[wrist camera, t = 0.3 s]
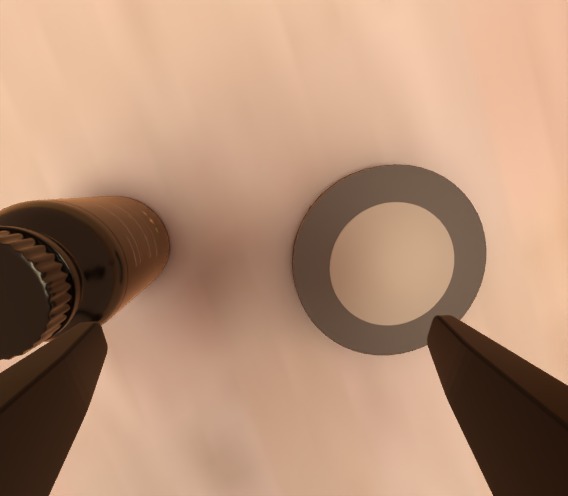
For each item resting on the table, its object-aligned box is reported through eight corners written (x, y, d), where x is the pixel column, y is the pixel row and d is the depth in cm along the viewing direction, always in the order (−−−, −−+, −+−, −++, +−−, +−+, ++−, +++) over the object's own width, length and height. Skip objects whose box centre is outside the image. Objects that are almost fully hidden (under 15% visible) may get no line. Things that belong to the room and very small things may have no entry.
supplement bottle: (117, 306, 24) (-29, 422, 12) (54, 230, 22) (-178, 277, 11) (192, 255, 23) (117, 323, 12) (132, 175, 22) (-19, 162, 10)
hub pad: (380, 378, 26) (388, 391, 24) (253, 266, 24) (253, 272, 22) (508, 255, 25) (526, 260, 23) (387, 123, 22) (397, 118, 21)
